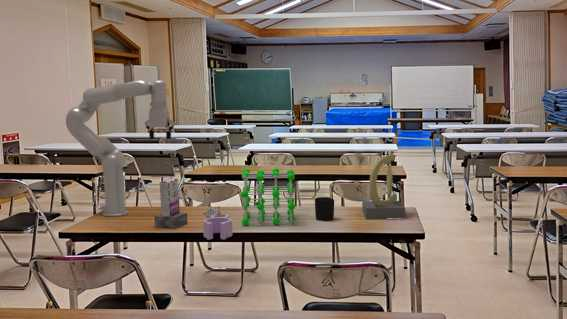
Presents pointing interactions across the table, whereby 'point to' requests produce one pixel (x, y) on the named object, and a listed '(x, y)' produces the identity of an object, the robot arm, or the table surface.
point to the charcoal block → (171, 221)
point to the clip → (217, 226)
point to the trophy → (377, 206)
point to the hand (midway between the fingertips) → (160, 138)
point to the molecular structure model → (275, 199)
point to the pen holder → (324, 208)
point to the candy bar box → (169, 197)
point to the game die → (213, 212)
